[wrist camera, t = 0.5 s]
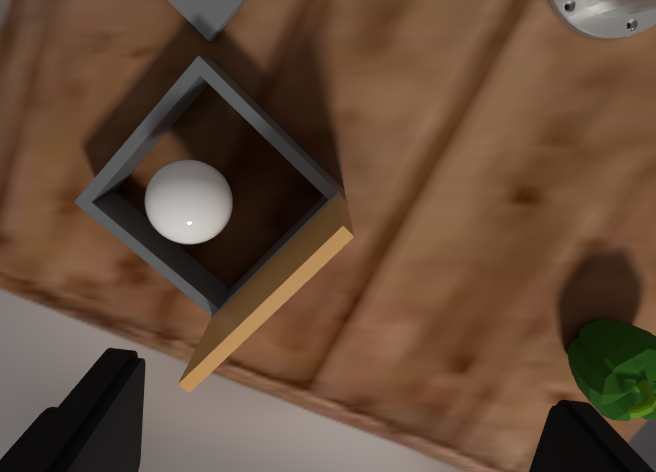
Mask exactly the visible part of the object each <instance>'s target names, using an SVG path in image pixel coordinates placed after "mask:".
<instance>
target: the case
mask: <svg viewBox="0 0 656 472" xmlns="http://www.w3.org/2000/svg"><path fill="white" fill-rule="evenodd" d="M208 84H210V85H211V86H212V87H213V88H214V89H215V90H216V91H217V92H218V93H219V94H220V95H221V96H222V97H223V98H224V99H225V100H226V101H227V102H228V103H229V104H230V105H231V106H232V107H233V108H234V109H235V110H236V111H237V112H238V113H240V114H241V115H242V116H243V117H244V118H245V119H246V120H247V121H248V122H249V123H250V124H251V125H252V126H253V127H254V128H255V129H256V130H257V131H258V132H259V133H260V134H261V135H262V136H263V137H264V138H265V139H266V140H267V141H268V142H269V143H270V144H271V145H273V146H274V147H275V148H276V149H277V150H278V151H279V152H280V153H281V154H282V155H283V156H284V157H285V158H286V159H287V160H288V161H289V162H290V163H291V164H292V165H293V166H294V167H295V168H296V169H297V170H298V171H299V172H300V173H301V174H302V175H303V176H304V177H306V178H307V179H308V180H309V181H310V182H311V183H312V184H313V185H314V186H315V187H316V188H317V189H318V190H319V191H320V192H321V193H322V194H323V195H324V196H323V197H322V198H321V199H320V200H319V201H318V202H317V203H316V204H315V205H314V206H313V207H312V208H311V209H310V210H309V211H308V212H307V213H306V214H305V215H304V216H303V217H302V218H301V219H300V220H299V221H298V222H297V223H296V224H295V225H294V226H293V227H292V228H291V229H290V230H289V231H288V232H287V233H285V234H284V235H283V236H282V237H281V238H280V239H279V240H278V241H277V242H276V243H275V244H274V245H273V246H272V247H271V248H270V249H269V250H268V251H267V252H266V253H265V254H264V255H263V256H262V257H261V258H260V259H259V260H258V261H257V262H256V263H255V264H254V265H253V266H252V267H251V268H250V269H249V270H248V271H247V272H246V273H245V274H244V275H243V276H242V277H241V278H240V279H239V280H238V281H237V282H236V283H235V284H234V285H233V286H232V287H231V288H230V289H229V288H228V287H227V286H226V285H225V284H224V283H222V282H221V281H220V280H219V279H218V278H217V277H215V276H214V275H213V274H212V273H211V272H209V271H208V270H207V269H206V268H205V267H204V266H202V265H201V264H200V263H199V262H198V261H197V260H195V259H194V258H193V257H192V256H191V255H190V254H188V253H187V252H186V251H185V250H184V249H183V248H181V247H180V246H179V245H178V244H177V243H175V242H174V241H171V240H169V239H167V238H166V237H164V236H163V235H161V234H160V233H159V232H158V231H157V230H156V229H155V228H154V227H153V225H152V224H151V222H150V220H149V219H147V218H146V217H145V216H144V215H143V214H141V213H140V212H139V211H138V210H137V209H136V208H134V207H133V206H132V205H131V204H130V203H129V202H127V201H126V200H125V199H124V198H123V197H122V196H120V195H119V194H118V193H117V192H116V190H117V189H118V188H119V187H120V186H121V184H122V183H123V182H124V181H125V180H126V179H127V177H128V176H129V175H130V174H131V173H132V172H133V171H134V169H135V168H136V167H137V166H138V165H139V164H140V162H141V161H142V160H143V159H144V158H145V157H146V156H147V154H148V153H149V152H150V151H151V150H152V149H153V147H154V146H155V145H156V144H157V143H158V142H159V141H160V139H161V138H162V137H163V136H164V135H165V134H166V132H167V131H168V130H169V129H170V128H171V127H172V126H173V124H174V123H175V122H176V121H177V120H178V119H179V117H180V116H181V115H182V114H183V113H184V112H185V111H186V109H187V108H188V107H189V106H190V105H191V104H192V102H193V101H194V100H195V99H196V98H197V97H198V96H199V94H200V93H201V92H202V91H203V90H204V89H205V87H206V86H207V85H208ZM74 203H76V204H77V205H78V206H79V207H81V208H82V209H83V210H84V211H85V212H87V213H88V214H89V215H90V216H91V217H93V218H94V219H95V220H96V221H97V222H99V223H100V224H101V225H102V226H104V227H105V228H106V229H107V230H108V231H110V232H111V233H112V234H113V235H114V236H116V237H117V238H118V239H119V240H120V241H122V242H123V243H124V244H125V245H127V246H128V247H129V248H130V249H131V250H133V251H134V252H135V253H136V254H137V255H139V256H140V257H141V258H142V259H143V260H145V261H146V262H147V263H148V264H149V265H151V266H152V267H153V268H154V269H156V270H157V271H158V272H159V273H160V274H162V275H163V276H164V277H165V278H166V279H168V280H169V281H170V282H171V283H172V284H174V285H175V286H176V287H177V288H179V289H180V290H181V291H182V292H183V293H185V294H186V295H187V296H188V297H189V298H191V299H192V300H193V301H194V302H195V303H197V304H198V305H199V306H200V307H202V308H203V309H204V310H205V311H206V312H208V313H209V314H210V315H211V320H210V322H209V324H208V326H207V328H206V330H205V332H204V334H203V336H202V338H201V340H200V342H199V344H198V346H197V348H196V350H195V352H194V354H193V356H192V358H191V360H190V362H189V364H188V366H187V368H186V370H185V372H184V374H183V376H182V377H181V379H180V381H179V383H178V385H179V386H180V387H182V388H183V389H184V390H186V391H187V392H188V393H190V392H191V391H192V390H193V389H194V388H195V387H196V386H197V385H198V384H199V383H200V382H201V381H202V380H204V379H205V378H206V377H207V376H208V375H209V374H210V373H211V372H212V371H213V370H214V369H215V368H216V367H217V366H218V365H219V364H220V363H222V362H223V361H224V360H225V359H226V358H227V357H228V356H229V355H230V354H231V353H232V352H233V351H234V350H235V349H236V348H237V347H238V346H239V345H240V344H242V343H243V342H244V341H245V340H246V339H247V338H248V337H249V336H250V335H251V334H252V333H253V332H254V331H255V330H256V329H257V328H258V327H259V326H261V325H262V324H263V323H264V322H265V321H266V320H267V319H268V318H269V317H270V316H271V315H272V314H273V313H274V312H275V311H276V310H277V309H278V308H280V307H281V306H282V305H283V304H284V303H285V302H286V301H287V300H288V299H289V298H290V297H291V296H292V295H293V294H294V293H295V292H296V291H297V290H298V289H300V288H301V287H302V286H303V285H304V284H305V283H306V282H307V281H308V280H309V279H310V278H311V277H312V276H313V275H314V274H315V273H316V272H317V271H319V270H320V269H321V268H322V267H323V266H324V265H325V264H326V263H327V262H328V261H329V260H330V259H331V258H332V257H333V256H334V255H335V254H336V253H338V252H339V251H340V250H341V249H342V248H343V247H344V246H345V245H346V244H347V243H348V242H349V241H350V240H351V239H352V238H353V237H354V233H353V228H352V224H351V219H350V214H349V210H348V205H347V200H346V196H345V191H344V189H343V188H342V187H341V186H340V185H339V184H338V183H337V182H336V181H335V180H334V179H333V178H332V177H331V176H330V175H329V174H328V173H327V172H326V171H325V170H323V169H322V168H321V167H320V166H319V165H318V164H317V163H316V162H315V161H314V160H313V159H312V158H311V157H310V156H309V155H308V154H307V153H306V152H305V151H304V150H303V149H302V148H301V147H300V146H299V145H298V144H297V143H296V142H295V141H294V140H293V139H292V138H291V137H290V136H289V135H288V134H287V133H286V132H285V131H284V130H283V129H282V128H281V127H280V126H279V125H278V124H277V123H276V122H275V121H274V120H273V119H272V118H271V117H270V116H269V115H268V114H267V113H266V112H265V111H264V110H263V109H262V108H261V107H260V106H259V105H258V104H257V103H256V102H255V101H254V100H253V99H252V98H251V97H250V96H249V95H247V94H246V93H245V92H244V91H243V90H242V89H241V88H240V87H239V86H238V85H237V84H236V83H235V82H234V81H233V80H232V79H231V78H230V77H229V76H228V75H227V74H226V73H225V72H224V71H223V70H222V69H221V68H220V67H219V66H218V65H217V64H216V63H215V62H214V61H213V60H211V59H208V58H205V57H202V56H198V57H197V58H196V59H195V60H194V61H193V63H192V64H191V65H190V66H189V67H188V69H187V70H186V71H185V72H184V73H183V74H182V76H181V77H180V78H179V79H178V80H177V82H176V83H175V84H174V85H173V86H172V87H171V89H170V90H169V91H168V92H167V93H166V95H165V96H164V97H163V98H162V99H161V100H160V102H159V103H158V104H157V105H156V106H155V108H154V109H153V110H152V111H151V112H150V113H149V115H148V116H147V117H146V118H145V119H144V121H143V122H142V123H141V124H140V125H139V126H138V128H137V129H136V130H135V131H134V132H133V134H132V135H131V136H130V137H129V138H128V139H127V141H126V142H125V143H124V144H123V145H122V147H121V148H120V149H119V150H118V151H117V152H116V154H115V155H114V156H113V157H112V158H111V160H110V161H109V162H108V163H107V164H106V165H105V167H104V168H103V169H102V170H101V171H100V173H99V174H98V175H97V176H96V177H95V178H94V180H93V181H92V182H91V183H90V184H89V186H88V187H87V188H86V189H85V190H84V191H83V193H82V194H81V195H80V196H79V197H78V199H77V200H76V201H75V202H74Z"/></svg>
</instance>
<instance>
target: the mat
mask: <svg viewBox="0 0 656 472" xmlns="http://www.w3.org/2000/svg"><path fill="white" fill-rule="evenodd" d="M168 1H169V2H170V3H171V4H172V5H173V6H174V7H175V8H176V9H177V10H178V11H179V12H180V13H181V14H182V15H183V16H184V17H185V18H186V19H187V20H188V21H189V22H190V23H191V24H192V25H193V26H194V27H195V28H196V29H197V30H198V31H199V32H200V33H201V34H202V35H203V36H204V37H205V38H206V39H207V40H208V41H210V42H212V41H213V40H214V38H215V37H216V36H217V35H218V34H219V32H220V31H221V30H222V29H223V28H224V27H225V25H226V24H227V23H228V22H229V21H230V19H231V18H232V17H233V16H234V15H235V14H236V12H237V11H238V10H239V9H240V8H241V6H242V5H243V4H244V3H245V2H246V1H247V0H168Z"/></svg>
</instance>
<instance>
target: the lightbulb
mask: <svg viewBox="0 0 656 472" xmlns="http://www.w3.org/2000/svg"><path fill="white" fill-rule="evenodd" d="M232 208H233V197H232V192H231V189H230V187H229V184H228V183H227V181H226V179H225V177H224V176H223V175H222V174H221V173H220V172H219V171H217V170H216V169H215V168H213V167H212V166H210V165H208V164H206V163H204V162H201V161H196V160H179V161H175V162H172V163H170V164H168V165H166V166H164V167H162V168H161V169H160V170H159V171H157V172H156V173H155V175H154V176H153V177H152V178H151V180H150V182H149V184H148V186H147V189H146V193H145V209H146V213H147V216H148V218H149V220H150V222H151V224H152V225H153V227H154V228H155V229H156V230H157V231H158V232H159V233H160V234H161V235H163V236H164V237H166V238H167V239H169V240H171V241H174V242H177V243H182V244H198V243H202V242H205V241H208V240H210V239H212V238H213V237H215V236H216V235H218V234H219V233H220V232H221V231H222V230H223V229H224V228H225V226H226V225H227V223H228V221H229V219H230V217H231V213H232Z"/></svg>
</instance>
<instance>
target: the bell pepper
mask: <svg viewBox="0 0 656 472" xmlns="http://www.w3.org/2000/svg"><path fill="white" fill-rule="evenodd" d="M568 360H569V366H570V368H571V371H572V374H573V376H574V379H575V381H576V383H577V385H578V387H579V389H580V390H581V391H582V392H583V394H584V395H585V396H586V397H587V398H588V400H589V401H590V402H591V403H592V404H593V405H594V406H595V408H596V409H597V410H598V411H599V412H600V413H601V414H602V415H603V416H605V417H607V418H610V419H612V420H620V421H628V420H630V419H631V418H638V417H642V418H645V419H656V336H654V335H653V334H651V333H650V332H648V331H645V330H643V329H641V328H638V327H636V326H633V325H630V324H627V323H624V322H621V321H617V320H610V319H600V320H596V321H593V322H589V323H586V324H585V325H584V326H583V328H582V329H581V330H580V331H579V336H578V337H577V338H575V339H573V341H572V342H571V344H570V346H569V347H568Z"/></svg>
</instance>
